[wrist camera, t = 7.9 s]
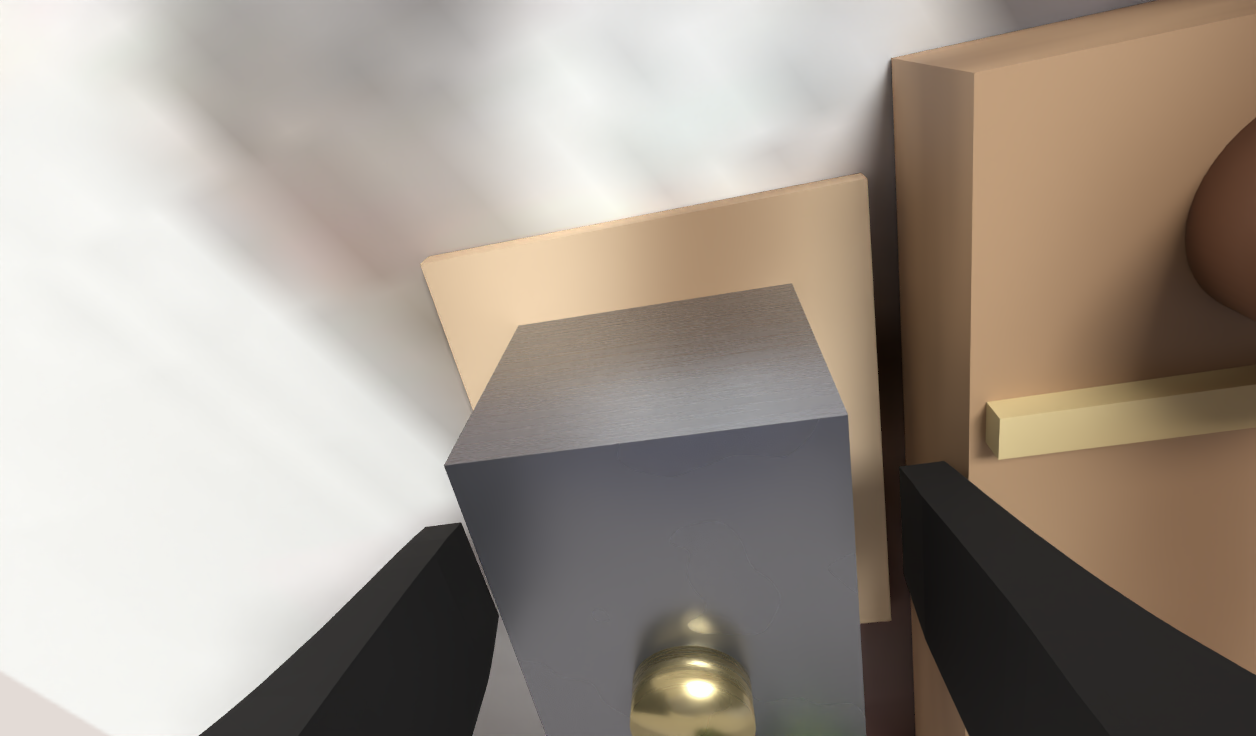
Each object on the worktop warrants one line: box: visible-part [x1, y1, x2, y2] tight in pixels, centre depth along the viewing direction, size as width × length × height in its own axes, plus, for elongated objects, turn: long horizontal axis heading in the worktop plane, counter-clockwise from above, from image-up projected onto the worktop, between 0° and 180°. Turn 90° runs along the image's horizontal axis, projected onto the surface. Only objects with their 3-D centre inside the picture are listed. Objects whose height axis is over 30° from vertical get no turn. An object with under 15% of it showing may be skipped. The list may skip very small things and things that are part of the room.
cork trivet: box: [420, 173, 891, 624], centre depth 12 cm, size 7×9×1 cm
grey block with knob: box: [444, 283, 866, 736], centre depth 10 cm, size 4×6×5 cm
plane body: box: [891, 0, 1256, 736], centre depth 10 cm, size 7×16×5 cm, turn 12°
